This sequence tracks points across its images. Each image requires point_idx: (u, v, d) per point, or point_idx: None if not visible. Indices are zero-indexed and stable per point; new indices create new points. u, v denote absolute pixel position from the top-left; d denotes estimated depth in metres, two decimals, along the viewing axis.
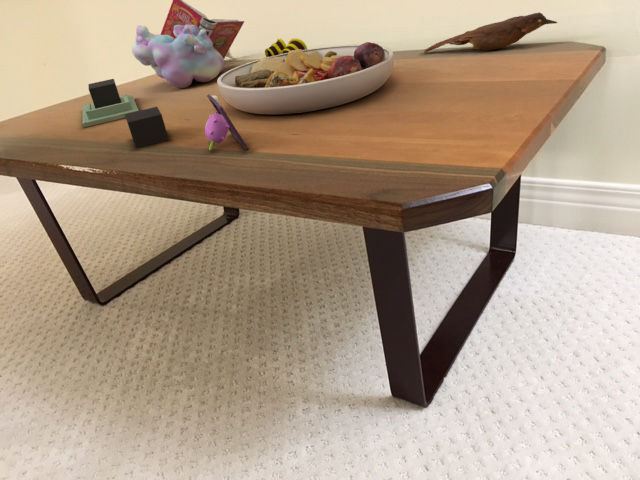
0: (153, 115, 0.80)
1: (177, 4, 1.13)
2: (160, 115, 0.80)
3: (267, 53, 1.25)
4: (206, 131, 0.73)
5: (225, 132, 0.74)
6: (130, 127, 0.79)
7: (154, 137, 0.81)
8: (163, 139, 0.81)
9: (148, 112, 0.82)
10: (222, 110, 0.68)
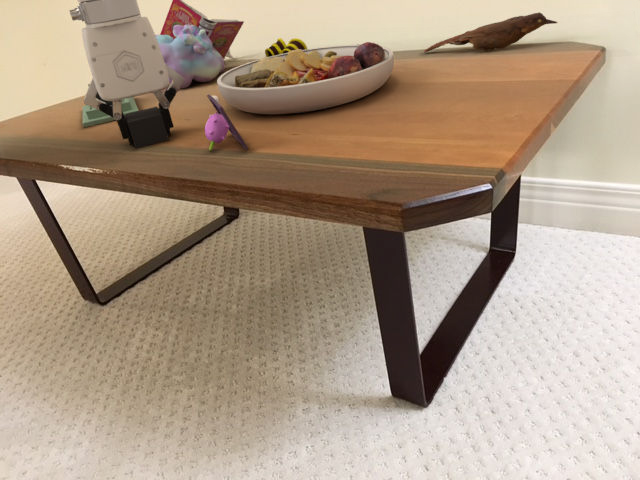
0: (153, 115, 0.80)
1: (177, 4, 1.13)
2: (160, 115, 0.80)
3: (267, 53, 1.25)
4: (206, 131, 0.73)
5: (225, 132, 0.74)
6: (130, 127, 0.79)
7: (154, 137, 0.81)
8: (163, 139, 0.81)
9: (148, 112, 0.82)
10: (222, 110, 0.68)
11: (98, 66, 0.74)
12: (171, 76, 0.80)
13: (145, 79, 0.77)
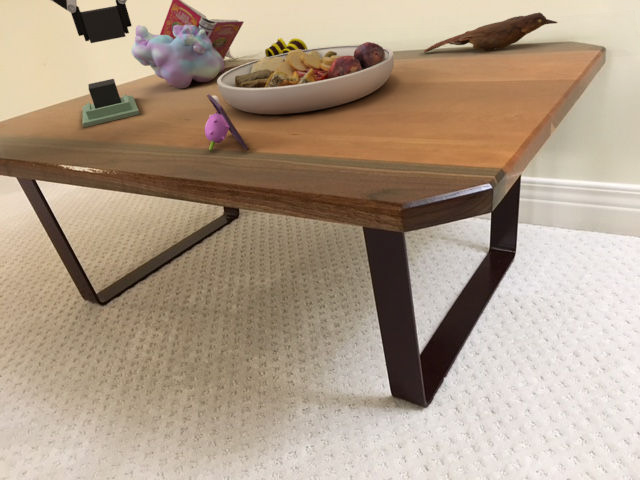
0: (108, 8, 0.78)
1: (177, 4, 1.13)
2: (115, 8, 0.78)
3: (267, 53, 1.25)
4: (206, 131, 0.73)
5: (225, 132, 0.74)
6: (84, 19, 0.77)
7: (109, 32, 0.79)
8: (119, 35, 0.79)
9: (105, 8, 0.80)
10: (222, 110, 0.68)
11: None
12: None
13: None
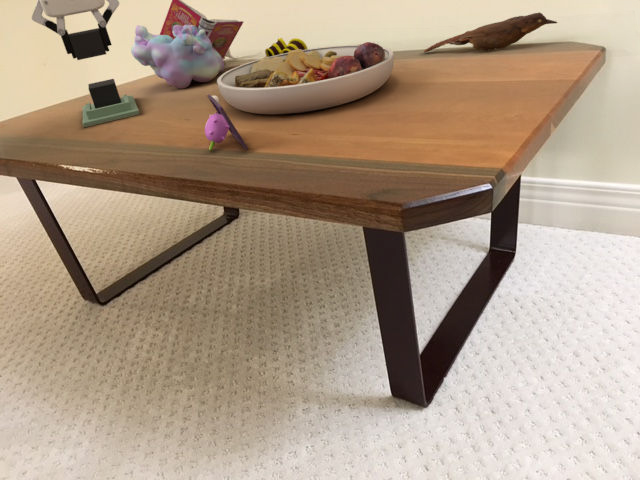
0: (92, 31, 0.94)
1: (176, 4, 1.13)
2: (97, 31, 0.94)
3: (267, 53, 1.25)
4: (206, 131, 0.73)
5: (225, 132, 0.74)
6: (72, 41, 0.93)
7: (93, 50, 0.95)
8: (101, 53, 0.96)
9: (89, 31, 0.96)
10: (222, 110, 0.68)
11: None
12: None
13: None
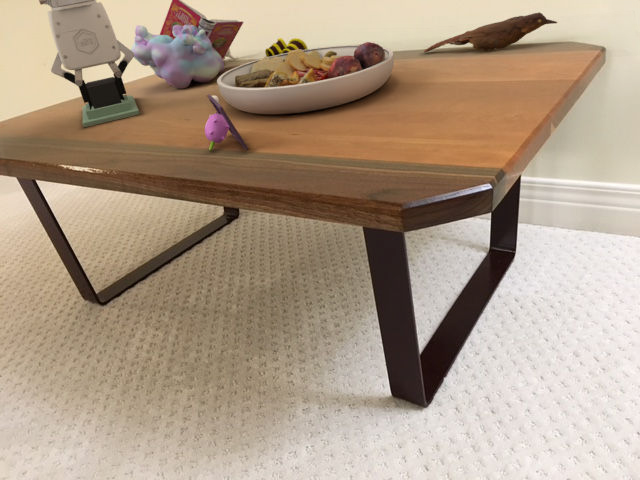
0: (108, 82, 0.99)
1: (176, 4, 1.13)
2: (113, 82, 0.98)
3: (268, 53, 1.25)
4: (206, 131, 0.73)
5: (225, 132, 0.74)
6: (89, 92, 0.98)
7: (109, 100, 0.99)
8: (117, 102, 1.00)
9: (105, 80, 1.01)
10: (222, 110, 0.68)
11: (61, 41, 0.93)
12: (123, 51, 0.99)
13: (100, 52, 0.96)
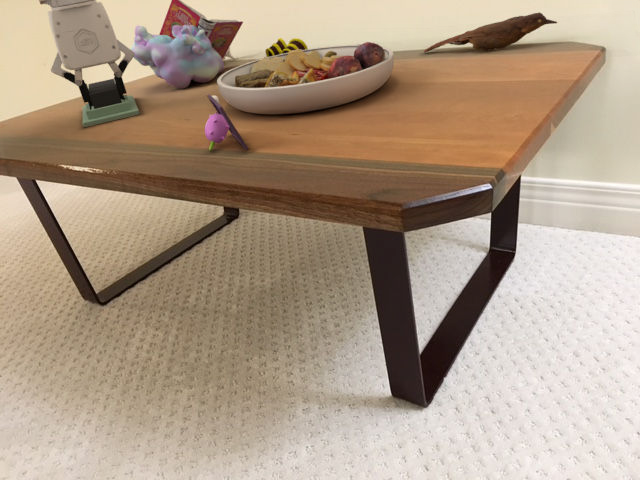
0: (110, 89, 0.99)
1: (176, 4, 1.13)
2: (116, 89, 0.99)
3: (268, 53, 1.25)
4: (206, 131, 0.73)
5: (225, 132, 0.74)
6: (91, 98, 0.98)
7: None
8: None
9: (107, 87, 1.01)
10: (222, 110, 0.68)
11: (61, 41, 0.93)
12: (123, 50, 0.99)
13: (100, 52, 0.96)
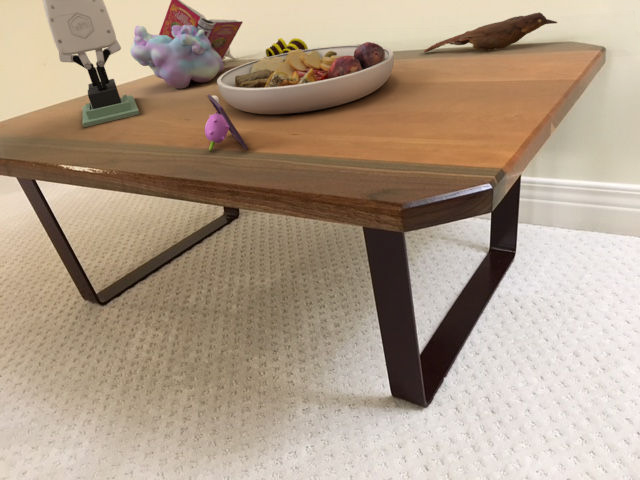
0: (109, 89, 0.99)
1: (175, 5, 1.13)
2: (115, 89, 0.99)
3: (268, 53, 1.25)
4: (206, 131, 0.73)
5: (225, 132, 0.74)
6: (90, 99, 0.98)
7: None
8: None
9: None
10: (222, 110, 0.68)
11: (56, 25, 0.92)
12: None
13: (95, 37, 0.95)
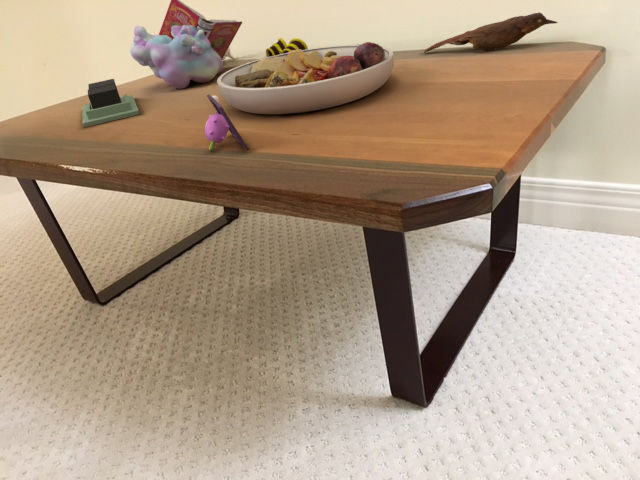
0: (109, 89, 0.99)
1: (175, 5, 1.13)
2: (115, 89, 0.99)
3: (268, 53, 1.25)
4: (206, 131, 0.73)
5: (225, 132, 0.74)
6: (90, 99, 0.98)
7: None
8: None
9: (106, 88, 1.01)
10: (222, 110, 0.68)
11: None
12: None
13: None
